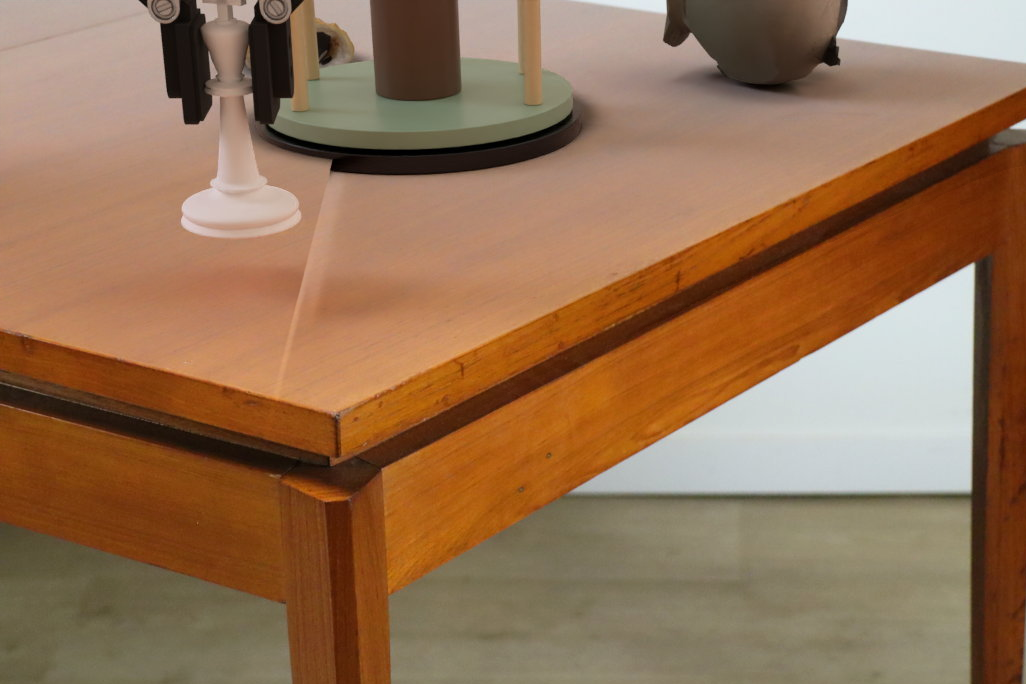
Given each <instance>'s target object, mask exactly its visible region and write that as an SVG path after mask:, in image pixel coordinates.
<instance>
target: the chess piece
mask: <svg viewBox="0 0 1026 684" xmlns="http://www.w3.org/2000/svg"><path fill="white" fill-rule="evenodd" d="M201 2H202V4H214V5H216V11H217V17H216V18H214V19H213V20H210V21H206V23H205V24H204V25H202V27H201V29H200V31H201V35H202V38H203V40H204V42H205V44H206V46H207V48H208V51H209V57H210V59H211V62H212V64H213V66H214V68H215V71H216V73H217V74H215V75H214V78H211V80H208V81H207V82H206V83H205V86H206V87H205V89H204V91H205V92H206V93H207V94H210V95H212V96H215V97H219V138H218V159H217V160H218V162H217V173H216V177H214V178H212V179H211V180H210V181H209V185H210V187H209V188H206V189H203V190H201V191H199V192H196V193H194V194H192V195H190V196H189V197H187V198H186V199H185V200H184V201H183V203H182V205H181V213H182V217H181V219H180V225H181V227H182V228H183V229H185V230H186V231H187V232H190V233H191V234H194V235H196V236H200V237H206V238H210V239H221V240H245V239H246V240H247V239H248V240H249V239H255V238H257V239H258V238H262V237H267V236H269V237H270V236H272V235H276V234H280V233H282V232H285V231H287V230H290V229H292V228H293V227H295V226H296V225H298V224H299V223H300V221H301V220H302V212H301V210H300V209H299V207H300V201H299V200H298V197H297V196H295V194H293V193H292V192H290V191H288V190H286V189H284V188H281V187H278V186H273V185H268V184H267V183H268V179H267V177H265V176H264V175H261V174H260V171H259V169H258V164H257V159H256V155H255V150H254V146H253V145H254V144H253V141H252V135H251V131H250V125H249V119H248V113H247V109H246V103H245V96H248V95H252V94H253V90H252V77H248V76H246V75H245V74H244V73H243V71H244V68H245V65H246V55H247V50H248V46H249V37H248V27H249V25H250V23H249V22H247V21H244V20H241V19H237V18H236V17H234V9H233V8H234V7H233V6H236V7H242V6H245V5H247V0H201Z"/></svg>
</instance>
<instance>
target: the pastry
mask: <svg viewBox="0 0 1026 684" xmlns="http://www.w3.org/2000/svg"><path fill="white" fill-rule="evenodd" d="M315 20H316V33H317V46H318V58H319V69H320V68H325V67H330V66H335V65H341V64H347V63H352V62H353V59H354V57H355V45H354V43H353V41H352V40H351V38H350V36H349V34H348V33H347V32H348V31H346V30H344V29H341V28H340V26H339V25H338V24H337V22H331V23H329V22H325V21H324V20H323V19H321V18H319V17H315ZM245 65H246V67H247V68H248V70H250V71H251V63H250V50H249V46H248V50H247V55H246V61H245Z"/></svg>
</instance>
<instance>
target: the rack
mask: <svg viewBox="0 0 1026 684" xmlns="http://www.w3.org/2000/svg"><path fill="white" fill-rule="evenodd" d="M516 7H517V8H516V11H517V13H516V15H517V51H518V53H517V54H518V62H514V61H509V60H501V59H500V60H499V59H491V58H479V57H462V56H461V39H460V38H461V37H460V36H461V35H460V16H459V15H460V14H459V0H369V8H370V9H369V10H370V11H369V13H370V24H371V27H370V28H371V39H372V40H371V42H372V55H373V56H372V57H373V60H363V61H355V62H350V63H347V64H341V65H335V66H330V67H325V68H320V69H319V58H318V46H317V33H316V20H315V18H316V11H315V10H316V9H315V0H304V1H303V2H302V3H301V4H300V5H299V6H298V7H297V9H296V10H295V11H294V12H293V13H292V14H291V15H290V23H291V38H292V54H293V70H294V95H293V98H280V109H279V112H278V114H277V117H276V119H275V122H274V124H268V125H269V126H270V127H272V128H273V129H275V130H276V131H278V132H281V133H283V134H285V135H288V136H291V137H294V138H297V139H301V140H305V141H309V142H314V143H319V144H326V145H332V146H340V147H350V148H363V149H387V150H411V149H437V148H449V147H461V146H469V145H477V144H484V143H491V142H497V141H502V140H507V139H511V138H516V137H520V136H524V135H527V134H531V133H534V132H537V131H540V130H543V129H546V128H548V127H550V126H552V125H555V124H557V123H558V122H560V121H562V120H563V119H565V118H566V117H567V116H568V115H569V114H570V113H571V110H572V108H573V98H574V89H573V85H572V84H571V82H570V81H569V80H568V79H566V78H565V77H564V76H562V75H561V74H559V73H556V72H554V71H551V70H548V69H545V68H542V26H541V25H542V24H541V23H542V21H541V20H542V19H541V17H542V15H541V0H516Z"/></svg>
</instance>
